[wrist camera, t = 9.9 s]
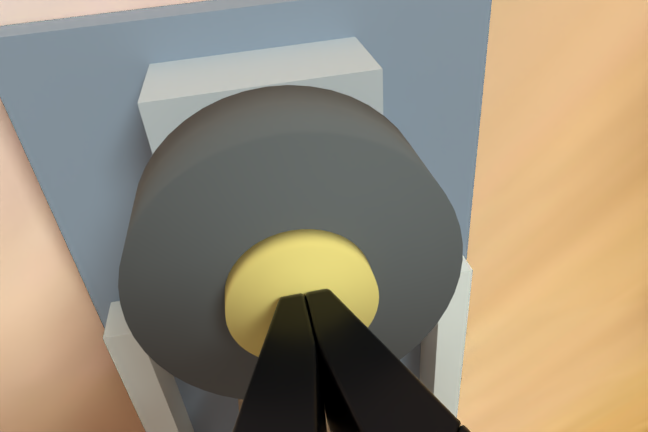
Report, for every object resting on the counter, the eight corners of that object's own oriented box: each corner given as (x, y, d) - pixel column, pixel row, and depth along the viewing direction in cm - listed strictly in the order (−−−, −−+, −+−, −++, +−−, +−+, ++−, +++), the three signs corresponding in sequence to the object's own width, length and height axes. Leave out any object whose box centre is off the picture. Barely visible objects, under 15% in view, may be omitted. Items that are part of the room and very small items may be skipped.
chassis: (439, 411, 24) (472, 488, 21) (180, 466, 23) (175, 556, 20) (473, -32, 14) (548, -3, 11) (-7, 26, 12) (-77, 78, 9)
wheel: (421, 304, 13) (462, 387, 11) (174, 351, 12) (167, 449, 10) (430, 63, 9) (492, 118, 7) (89, 111, 9) (53, 185, 7)
